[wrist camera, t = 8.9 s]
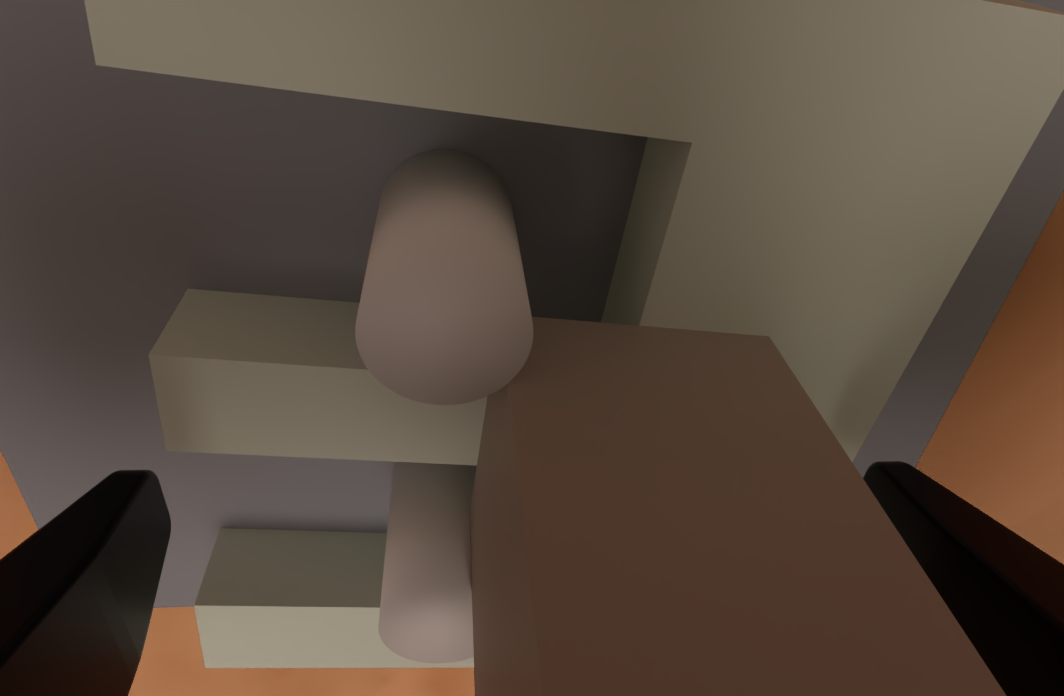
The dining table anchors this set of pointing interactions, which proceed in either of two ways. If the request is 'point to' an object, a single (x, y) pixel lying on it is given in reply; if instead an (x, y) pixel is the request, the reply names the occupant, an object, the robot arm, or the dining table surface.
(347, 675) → the dining table surface
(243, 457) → the slate board
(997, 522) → the robot arm
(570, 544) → the two-prong bracket
